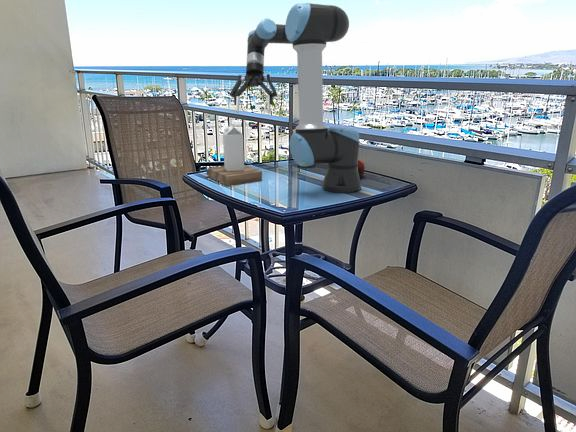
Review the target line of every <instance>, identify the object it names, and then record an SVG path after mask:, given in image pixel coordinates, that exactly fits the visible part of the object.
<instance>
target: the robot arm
mask: <svg viewBox="0 0 576 432" xmlns="http://www.w3.org/2000/svg"><path fill="white" fill-rule="evenodd" d="M285 19H286V21H285V24H279V23H277V24H276V22H275V21H274V20H272V19H271V18H264V19H262V20H261V21H260V22H259V23H258V24H257V26H256V28H255V29H253V30H251V31H250V32H248V35H247V50H246V66H245V67H246V69H245V76H242V75H241V74H239V75H238V78H237V81H235V82H236V83H235V84H234V86H233V88H232V89H231V91H230V93H229V95H230V97H231V98H233V104H234V105H235V111H236V113H237V114H239V113H240V101H241V100H240V97H241V95H242V94H243V93H244V92H245V91H246V90H248V89H249V88H250V87H251V88H253V87H256V88H257V87H260V88H262V89H263V91H264V92H265V93H266V94H267V106H266V107H267V108H266V109H267V112H268V113H271V105H273V103H274V101H273V100H274V97H277V96H278V92H277V90H276V88H275V85H274V84H273V82H272V79H271V75H270V74H269V73H268V74H267V75H264V71H265V70H264V69H265V68H264V67H265V66H264V65H265V49H266V47H268V45H269V44H285V45H286V44H287V45H288V44H289V45H292V49H294V51H295V52H296V56H297V58H296V59H297V61H296V62H297V63H296V64H297V85H298V86H297V87H298V88H297V90H298V91H297V92H298V120H299V121H298V122H299V123H298V125H297V126H296V127H295V129H294V130H295V133H293V134H292V135H291V136H290V139H289V150H290V154H291V157H292V158H293V160H294V161H295V163H296V164H297V165H298V164H299V165H302V166H305V165H309V166H308V167H311V166H315V165H322V164H323V165H325V164H327V167H326V168H327V169H326V170H325V174H324V178H323V179H322V184H321V185H322V186H321V188H322V189H324V190H326V191H327V192H334V193H340V194H341V193H344V194H345V193H346V194H347V193H348V194H349V193H355V192H354V191H356V192H358V191H357V190H359V191H361V189H362V181H361V177H359V173H358V159H359V154H360V153H359V150H360V132H359V131H358V130H356V129H354V128H353V129H352V128H347V127H346V128H345V127H338V126H329V128H328V126H327V125H326V124H325V123H324V96H323V95H324V94H323V93H324V90H323V89H324V88H323V86H324V85H323V84H324V83H323V51H324V50H325V48H327V43H334V42H338V41H340V40H341V39H343V38H344V37H345V36H346V35H347V33H348V32H349V28H350V20H349V16H348V14H347V13H346V11H345V10H344V9H342V8H341V7H339V6H337V5H330V4H320V3H310V2H306V3H305V2H303V3H296V4H294V5H293V6H292V7H291V8H290V10H289V11H288V14H287V17H286V18H285ZM264 81H266V82H267V83H268V85H269V87H270V89H271V90H270V89H269V88H268V87H267V86H266V85H265V84H264Z"/></svg>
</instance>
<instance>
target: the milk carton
mask: <svg viewBox="0 0 576 432" xmlns="http://www.w3.org/2000/svg"><path fill="white" fill-rule="evenodd" d="M222 142H223V145H222V147H223V163H224V164H223V166H224V168H225V169H226V171H242V170H244V165H245V159H244V158H245V157H244V151H245V150H244V134H243V133H242V132H241V131H239V130H238V129H237V128H235V124H233V123H232V122H230V125H229V126H226V127H225V128H224V131H223V132H222Z"/></svg>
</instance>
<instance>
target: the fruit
mask: <svg viewBox="0 0 576 432" xmlns="http://www.w3.org/2000/svg"><path fill="white" fill-rule="evenodd" d="M365 169H366V166H365V163H364V161H363V160H362V159H359V158H358V173H359V177H360V178H361V177H362V176H364V174H365Z"/></svg>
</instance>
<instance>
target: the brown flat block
mask: <svg viewBox="0 0 576 432" xmlns="http://www.w3.org/2000/svg"><path fill="white" fill-rule="evenodd" d="M206 175H207V176H208V178H209V177H210V178H209V179H211V178H212V179H211V180H213V179H214V181H215V180H216V182H217V181H219V182H220V183H219V182H218V183H219V184H221V183H222V185H224V186H226V187H232V186H231V185H233V186H238V185H245V184H249V183H250V184H251V183H256V182H262V181H263V171H262V170H259V169H256V168H254V167H251V166H249V165H246V164H244V170H242V171H226V169H225V168H224V165H221V166H215V167H207V168H206Z"/></svg>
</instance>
